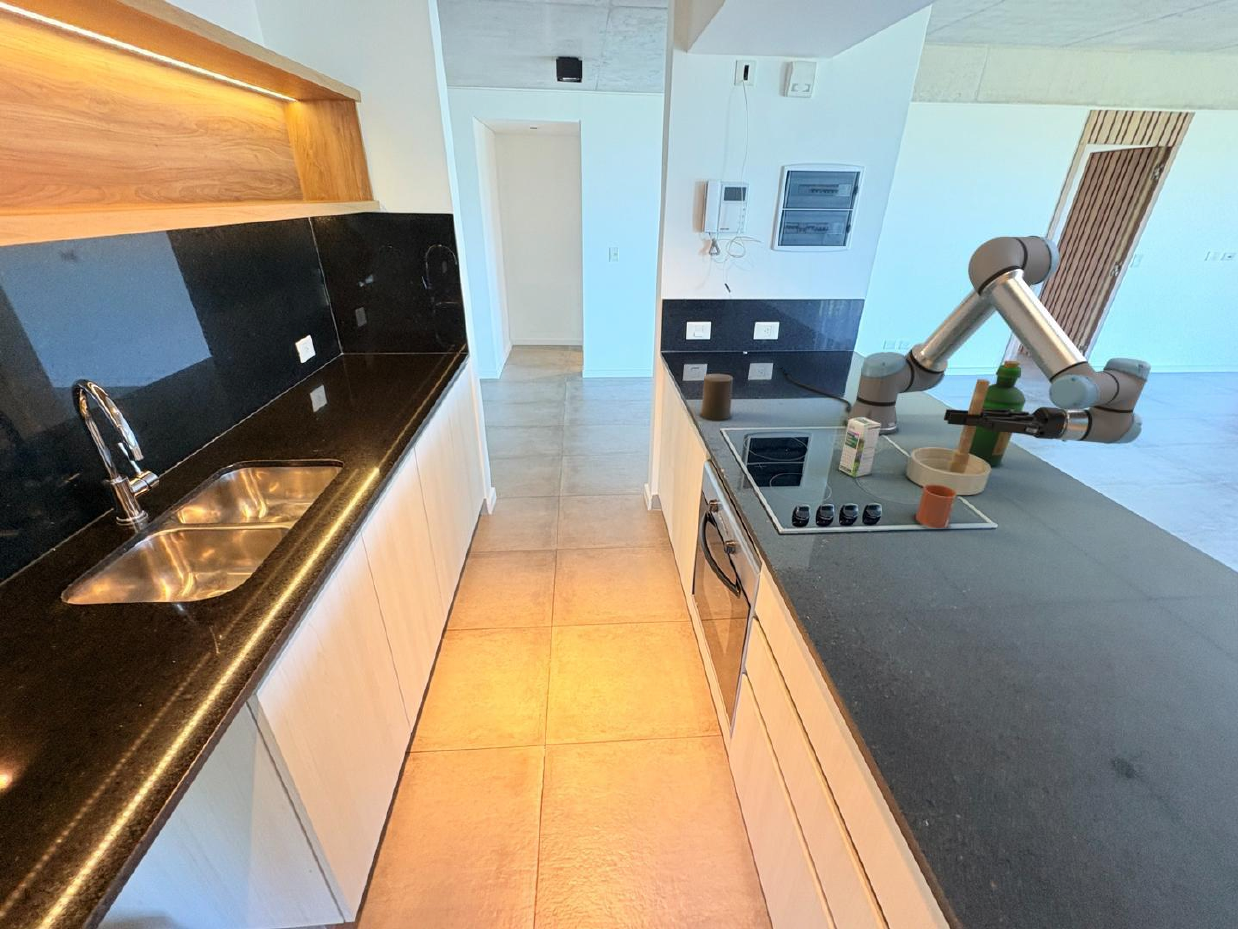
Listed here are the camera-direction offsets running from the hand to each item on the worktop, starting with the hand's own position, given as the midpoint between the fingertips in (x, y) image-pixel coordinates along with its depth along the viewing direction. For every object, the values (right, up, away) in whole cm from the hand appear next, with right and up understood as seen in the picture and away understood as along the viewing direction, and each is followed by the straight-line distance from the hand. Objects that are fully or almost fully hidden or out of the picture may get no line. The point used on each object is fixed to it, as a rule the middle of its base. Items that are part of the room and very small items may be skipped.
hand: (947, 416), depth 130 cm
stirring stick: (+5, -14, +5) cm, 16 cm away
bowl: (+3, -16, +6) cm, 18 cm away
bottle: (+21, -11, +18) cm, 30 cm away
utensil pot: (-11, -25, -12) cm, 30 cm away
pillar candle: (-48, +5, +53) cm, 71 cm away
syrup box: (-18, -14, +12) cm, 25 cm away
